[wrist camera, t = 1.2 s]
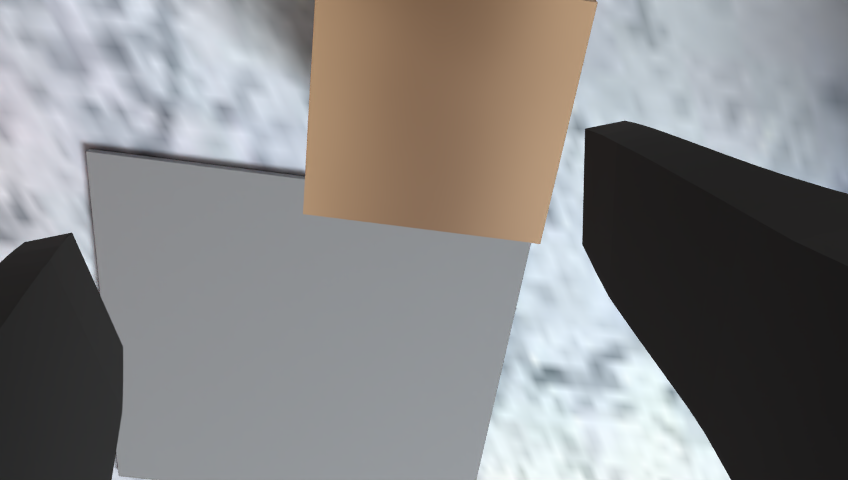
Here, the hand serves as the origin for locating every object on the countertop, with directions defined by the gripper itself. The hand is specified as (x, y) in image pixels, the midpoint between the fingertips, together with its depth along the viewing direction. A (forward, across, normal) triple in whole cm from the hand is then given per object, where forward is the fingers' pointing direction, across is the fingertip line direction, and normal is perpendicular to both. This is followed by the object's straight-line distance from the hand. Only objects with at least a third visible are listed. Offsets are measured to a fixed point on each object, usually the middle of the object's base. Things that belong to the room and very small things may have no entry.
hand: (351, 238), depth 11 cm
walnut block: (+10, -4, +1) cm, 11 cm away
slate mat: (+10, +2, +11) cm, 15 cm away
